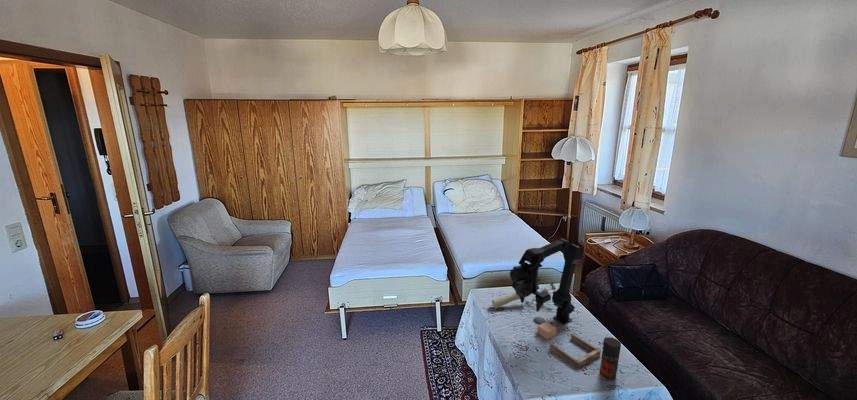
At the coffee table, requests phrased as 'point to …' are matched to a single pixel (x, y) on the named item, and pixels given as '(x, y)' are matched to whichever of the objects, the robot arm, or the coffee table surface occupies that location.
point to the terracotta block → (546, 330)
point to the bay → (582, 361)
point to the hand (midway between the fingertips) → (529, 306)
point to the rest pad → (539, 320)
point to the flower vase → (514, 297)
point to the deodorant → (610, 358)
